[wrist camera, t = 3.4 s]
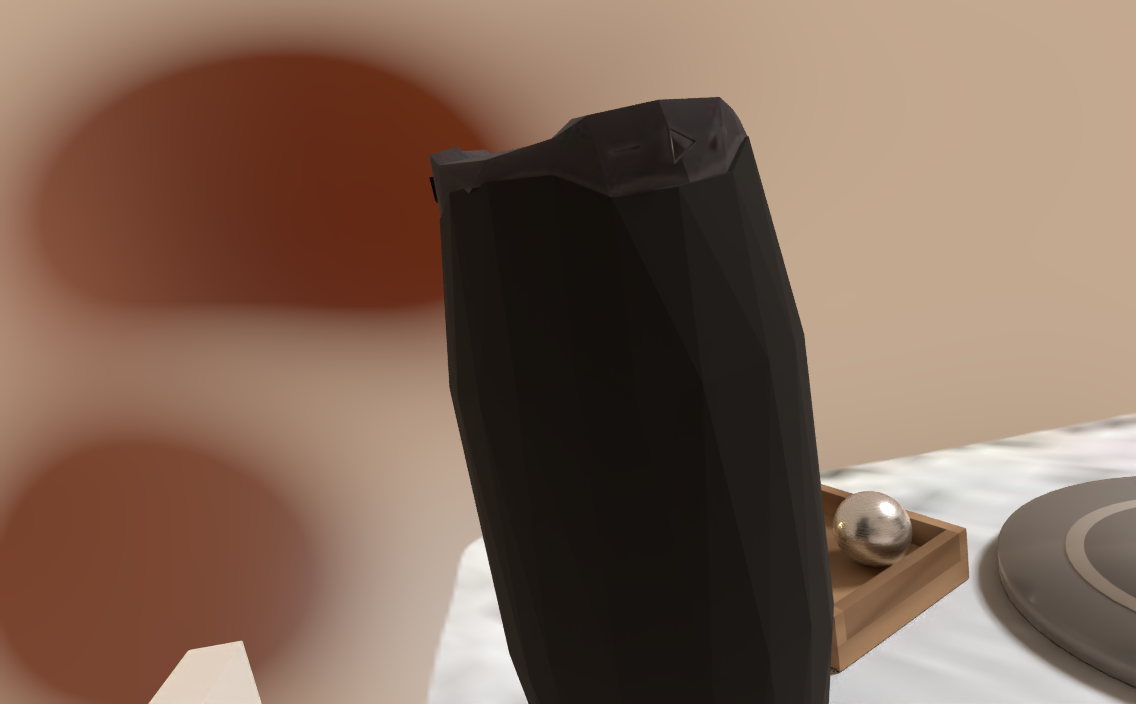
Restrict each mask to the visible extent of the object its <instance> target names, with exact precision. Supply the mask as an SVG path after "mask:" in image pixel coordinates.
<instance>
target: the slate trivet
mask: <svg viewBox="0 0 1136 704" xmlns="http://www.w3.org/2000/svg"><path fill="white" fill-rule="evenodd" d="M998 562H999V572H1000V577H1001V582H1002V585H1003V587H1004V589H1005V591H1006V593H1007V595H1008V597H1009V598H1010V600H1011V601H1012V603H1013V604H1014V605H1015V607H1016V608H1017V609H1018V611H1019V612H1020V613H1021V614H1022V615H1023V616H1024V617H1025V618H1026V619H1027V620H1028V621H1029V622H1030V623H1031V624H1032V625H1033V626H1034V627H1035V628H1036V629H1038V630H1039V631H1040V632H1041V633H1043V634H1044V635H1045V636H1046V637H1048V638H1049V639H1050V640H1051V641H1053V642H1054V643H1055V644H1057V645H1058V646H1060V647H1061V648H1063V649H1065V650H1066V651H1068V652H1069V653H1071V654H1072V655H1074V656H1075V657H1077V658H1078V659H1080V660H1082V661H1084V662H1086V663H1087V664H1089V665H1091V666H1093V667H1095V668H1097V669H1099V670H1100V671H1102V672H1104V673H1106V674H1108V675H1110V676H1112V677H1114V678H1116V679H1119V680H1121V681H1123V682H1125V683H1127V684H1130V685H1132V686H1134V687H1136V476H1134V477H1123V478H1112V479H1105V480H1099V481H1092V482H1086V483H1082V484H1077V485H1073V486H1068V487H1065V488H1062V489H1059V490H1055V491H1052V492H1049V493H1047V494H1045V495H1042V496H1040V497H1037V498H1035V499H1033V500H1031V501H1030V502H1028V503H1026V504H1025V505H1023V506H1021V507H1020V508H1019V509H1018V510H1016V511H1015V512H1014V513H1013V514H1012V515H1011V516H1010V517H1009V518H1008V519H1007V521H1006V522H1005V523H1004V525H1003V527H1002V529H1001V531H1000V534H999V539H998Z"/></svg>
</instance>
